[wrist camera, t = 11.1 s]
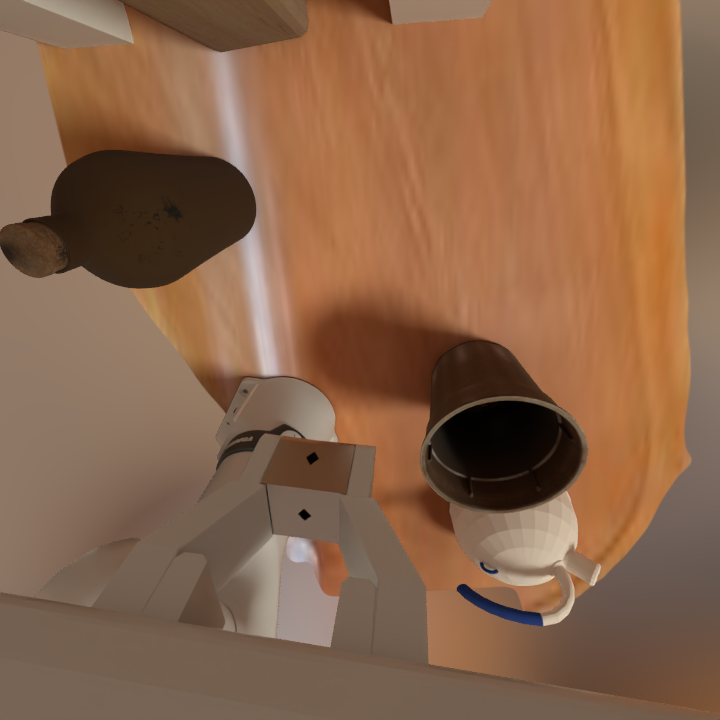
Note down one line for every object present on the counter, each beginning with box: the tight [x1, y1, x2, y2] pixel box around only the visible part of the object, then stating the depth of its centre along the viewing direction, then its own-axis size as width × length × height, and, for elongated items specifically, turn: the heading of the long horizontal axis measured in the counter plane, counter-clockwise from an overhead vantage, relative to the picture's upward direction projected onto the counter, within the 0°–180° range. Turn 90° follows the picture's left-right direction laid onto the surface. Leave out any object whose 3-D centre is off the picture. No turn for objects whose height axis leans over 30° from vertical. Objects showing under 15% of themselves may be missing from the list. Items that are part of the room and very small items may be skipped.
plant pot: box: [420, 341, 588, 514], centre depth 43 cm, size 16×16×16 cm
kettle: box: [449, 491, 601, 626], centre depth 55 cm, size 20×21×18 cm
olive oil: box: [0, 150, 256, 288], centre depth 32 cm, size 11×11×25 cm
